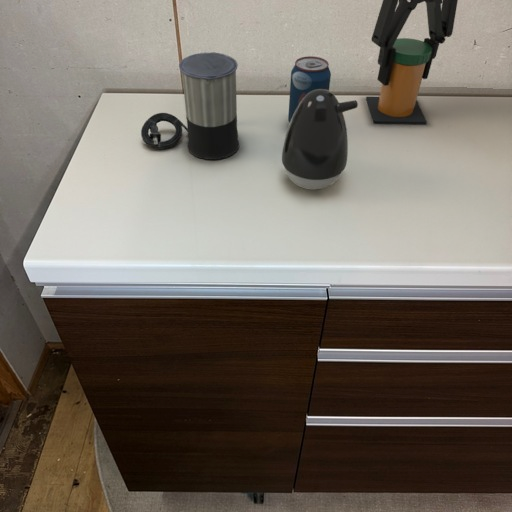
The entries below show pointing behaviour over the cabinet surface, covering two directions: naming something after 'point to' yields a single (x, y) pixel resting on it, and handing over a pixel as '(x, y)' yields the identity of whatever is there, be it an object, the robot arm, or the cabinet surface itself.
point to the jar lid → (411, 51)
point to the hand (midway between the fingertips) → (402, 79)
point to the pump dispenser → (317, 140)
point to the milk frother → (203, 108)
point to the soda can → (307, 79)
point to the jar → (401, 90)
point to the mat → (381, 118)
